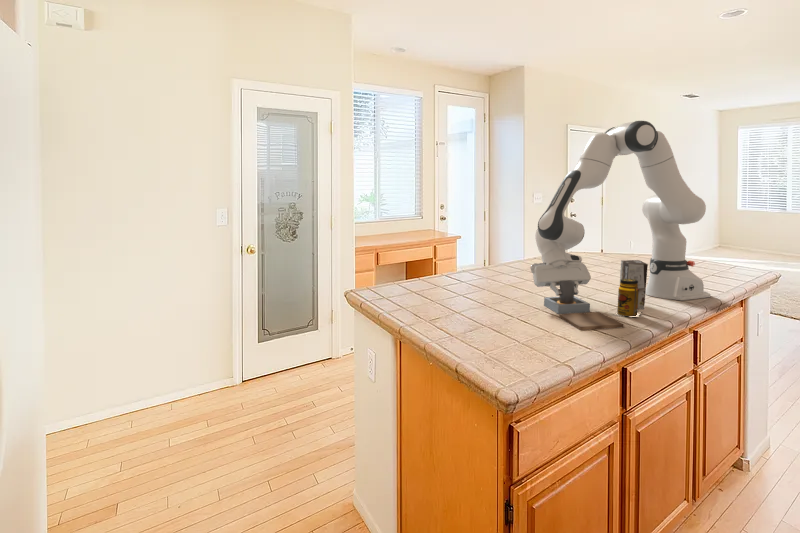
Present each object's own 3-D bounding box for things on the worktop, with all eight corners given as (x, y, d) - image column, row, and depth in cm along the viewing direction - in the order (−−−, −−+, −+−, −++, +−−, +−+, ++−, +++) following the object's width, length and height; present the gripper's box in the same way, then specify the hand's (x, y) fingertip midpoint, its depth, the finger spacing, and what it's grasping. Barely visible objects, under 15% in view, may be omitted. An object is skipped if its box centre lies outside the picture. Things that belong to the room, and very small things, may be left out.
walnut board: (598, 314, 149) (598, 311, 149) (623, 327, 136) (623, 324, 136) (558, 316, 148) (559, 314, 148) (580, 330, 134) (580, 326, 134)
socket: (573, 303, 164) (573, 295, 163) (589, 312, 153) (590, 303, 152) (543, 305, 163) (544, 297, 162) (558, 314, 151) (558, 305, 151)
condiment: (613, 315, 149) (615, 280, 147) (619, 309, 155) (622, 276, 153) (637, 318, 144) (639, 282, 142) (643, 312, 150) (645, 278, 148)
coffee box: (645, 309, 154) (648, 264, 151) (625, 309, 155) (628, 263, 152) (636, 302, 163) (639, 259, 160) (618, 302, 164) (620, 259, 161)
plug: (570, 305, 161) (571, 279, 159) (579, 310, 155) (580, 282, 153) (553, 306, 160) (554, 279, 159) (561, 311, 154) (562, 283, 152)
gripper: (531, 258, 160) (542, 291, 152) (585, 256, 162) (598, 288, 154) (526, 268, 165) (536, 300, 157) (578, 266, 167) (591, 297, 160)
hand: (567, 294), depth 156 cm, fingers closed on plug, 5 cm apart
